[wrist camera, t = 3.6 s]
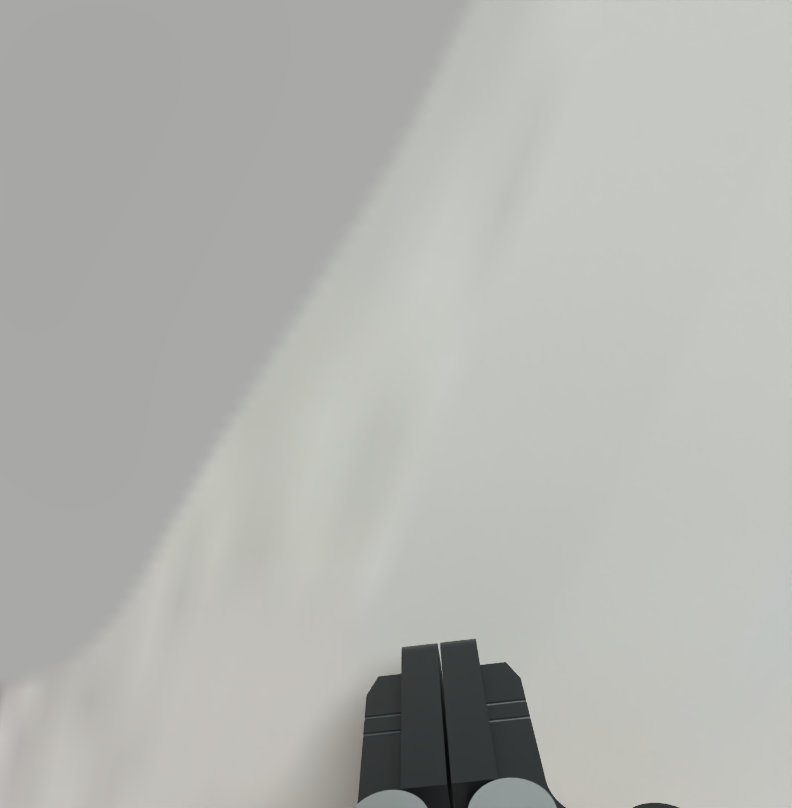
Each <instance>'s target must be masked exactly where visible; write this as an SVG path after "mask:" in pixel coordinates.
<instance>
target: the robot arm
mask: <svg viewBox="0 0 792 808" xmlns="http://www.w3.org/2000/svg"><path fill="white" fill-rule="evenodd" d="M440 646H441V659H442V670H441V663H440V656H439V649H438V644H428V645H419V646H410V647H402V673H401V674H398V675H389V676H380V677H378V678H377V680H376V682H375V683H374V685H373V686H372V688H371V690H370V691H369V693H368V694H367V698H366V710H365V723H364V737H363V747H362V760H361V772H360V784H359V796H358V804H357V805H356V806H355V807H354V808H565V807H564V806H563V805H561V804H560V803H559V802H558V801H557V800H556V799H555V797H554V796H553V795H552V794H551V792H550V790H549V788H548V786H547V783H546V780H545V776H544V772H543V768H542V764H541V759H540V755H539V751H538V747H537V743H536V739H535V735H534V731H533V727H532V723H531V719H530V715H529V711H528V707H527V703H526V699H525V694H524V690H523V686H522V682H521V678H520V677H519V676H518V675H517V674H516V673H515V672H514V671H513V670H512V669H511V668H510V666H509V665H508V664H507V663H506V662H504V663H495V664H486V665H480V663H479V657H478V650H477V644H476V639H470V640H461V641H453V642H444V643H440ZM442 672H443V677H442ZM633 808H678V807H676V806H672V805H668V804H662V803H647V804H641V805H638V806H635V807H633Z"/></svg>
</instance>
